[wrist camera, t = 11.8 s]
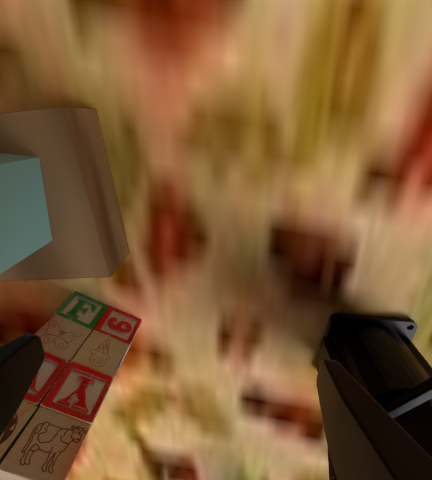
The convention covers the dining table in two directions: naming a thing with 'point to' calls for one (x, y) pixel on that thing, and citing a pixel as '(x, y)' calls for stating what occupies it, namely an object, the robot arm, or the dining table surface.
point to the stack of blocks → (66, 388)
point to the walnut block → (69, 193)
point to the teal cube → (21, 209)
